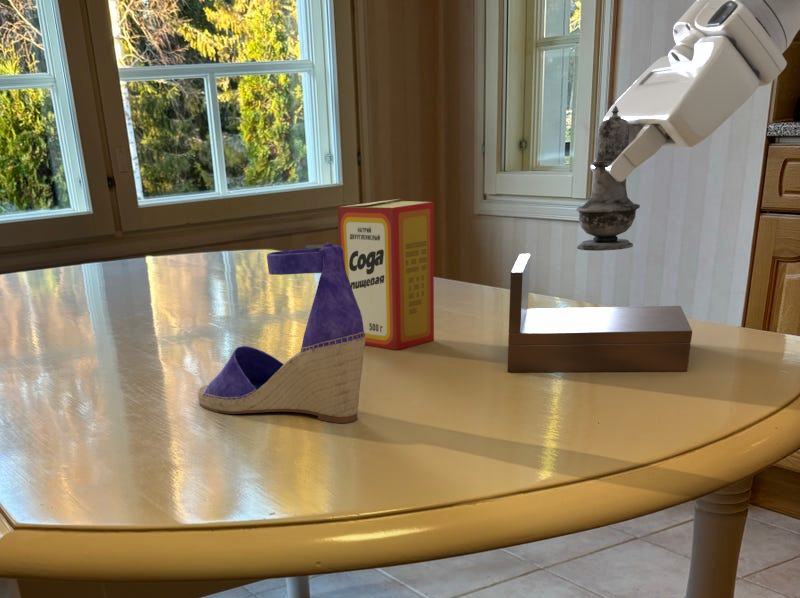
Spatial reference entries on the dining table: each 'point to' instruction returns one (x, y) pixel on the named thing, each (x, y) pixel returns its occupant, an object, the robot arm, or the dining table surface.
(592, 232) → the salt shaker
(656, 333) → the wooden bookend
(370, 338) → the baking soda box
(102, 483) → the dining table surface
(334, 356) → the sandal
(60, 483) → the dining table surface
